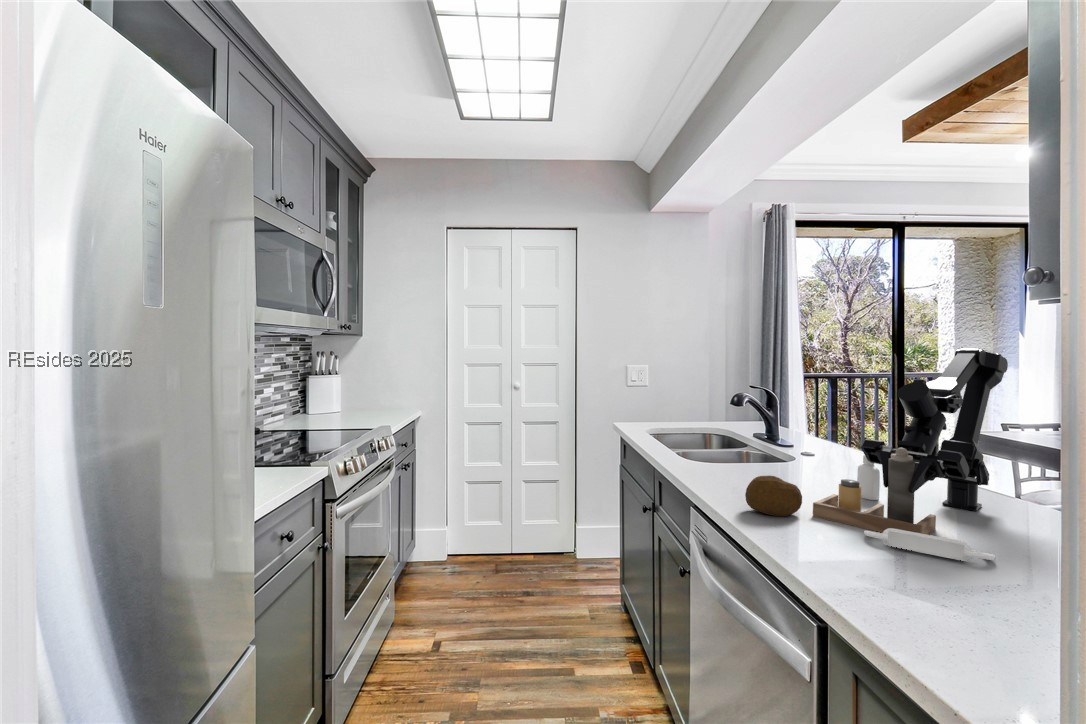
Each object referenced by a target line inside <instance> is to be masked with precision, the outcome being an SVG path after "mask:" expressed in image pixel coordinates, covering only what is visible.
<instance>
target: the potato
mask: <svg viewBox="0 0 1086 724" xmlns="http://www.w3.org/2000/svg"><path fill="white" fill-rule="evenodd" d="M744 496H745V502H746V504H747V505H748V506H749V508H751V509H752V510H754V511H757V512H759V513H763V514H765V515H770V516H776V517H786V516H787V517H789V516H792V515H793V514H795V513H796V512H798V511H799V509H801V507H802V504H803V494H802V492H801V490H800V488H799V487H798V486H797V484H794V483H790V482H788V481H786V480H783V479H782V478H780V477H778V476H775V475H759V476H756V477H754V478H753V479H752V480H751V481H750V482H749V483H748V485H747V487H746V489H745V495H744Z"/></svg>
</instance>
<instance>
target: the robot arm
mask: <svg viewBox="0 0 1086 724" xmlns="http://www.w3.org/2000/svg"><path fill="white" fill-rule="evenodd" d="M1008 362H1009V361H1008V359H1007V358H1006V357H1004V356H1003V355H1002V354H1001V353H994V352H988V351H985V349H980V348H960V349H957V350H955V352H954V356H953V358H952V360H951V361H950V362H949V364H947V366H946V368H944V370H943V371H942V373H941V374H940V376H939V377H938V378H936V379H934V380H930V381H926V380H925V379H920V378H917V379H915V378H914V380H913V381H912V382H909V383H906V384H904V385H903V386H901V387H900V388H899V389H898V390H897V392H896V393H897V397H898V398H899V401H900V402H901V405H902V407H903V409H904V411H905V412H906V415H907V416H909V417H911V418H912V419H911V421H910V423H909V425H905V426H904V428H903V431H904V436H903V438H902V440H900V439H899V440H898V441H897V443H896V444H897V446H898V448H905V449H906V450H907V451H908V455H910V456H913V461H915V474H914V477H913V479H912V482H911V485H910V492H911V493H914V494H915V493H916V492H917V491H918V490H919V489H920V488H921V487H922V486H923V485H925V484H926V483H927V482H929V481H932V482H933V481H934V480H935V479H937V478H938V479H939V478H940V479H944V480H945V479H946V480H947V487H946V488H947V490H946V493H947V495H946V496H947V497H946V499H945V500H944V501H943V502H942V503H941V504H942V505H943V506H947V507H953V508H958V509H964V510H968V511H973V512H977V511H978V510H979V509H980V508H981V507H983V505H982V503H979V502H978V496H979V494H978V493H979V491H978V490H979V486H989V480H990V473H989V471H988V468H987V466H986V464H985V462H984V455H983V453H982V450H981V448H980V446H979V445H978V443H979V439H980V436H981V431H982V426H983V424H984V423H983V422H984V419H985V415H986V409H987V406H988V401H989V397H990V394H991V393H990V392H991V390H992V389H994V388H995V387H996V386H997V385H998V384H1000V383H1001V382H1002V380H1003V378H1004V374H1005V373H1006V372H1007V371H1008V366H1009V365H1008V364H1009V363H1008ZM964 387H965V389H964V393H963V395H962V393H961V391H962V390H963V388H964ZM962 396H963V397H962ZM958 410H959V413H958V417H957V420H956V425H955V429H954V432H953V436H952V437H950V439H944V440H943V441H942V442H941V444H940V449H939V444H938V441H939V438H940V435H941V434H942V431H947V427H948V426H947V423H946V422H947V418H946V416H945V415H944V413H945V414H955V413H956V412H958ZM898 448H893V447H892V446H890V445H886V443H885V441H884V440H877V439H871V438H870V439H869V438H866V439H864V440H863V441H862V443H861V445H860V449H861V451H862V452H863V454H864V455H865V456H866V458H867V460H868V461H870V462H871V463H874V464H876V465H881V468H882V481H883V482H882V484H883V487H884V488H887V489H888V460H889V458H891V454H896V450H897V449H898Z"/></svg>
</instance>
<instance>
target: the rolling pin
mask: <svg viewBox="0 0 1086 724" xmlns="http://www.w3.org/2000/svg"><path fill="white" fill-rule="evenodd" d="M863 535H864V536H867V537H870V538H874V539H875V538H876V539H880V540H881V541H882V543H883V544H884V545H885V546H886V545H888V546H887V547H891V546H892V548H896V547H897V549H901V548H902V549H903V550H906V549H907V550H906V551H911V550H912V551H911V552H915V553H916V552H917V553H921V554H926V555H930V556H931V555H932V556H936V557H942V558H946V559H951V560H956V561H960V560H961V562H962V561H963V562H965V561H966V562H968V563H969V562H970V561H971V560H972V558H977V559H982V560H987V561H989V560H990V561H994V560H996V555H995V554H992V553H987V552H983V551H978V550H974V549H972V548H971V546H970V545H969V544H968V543H967V542H965V541H962V540H958V539H952V538H948V537H942V536H936V535H932V534H929V535H927V534H921V533H916V532H910V531H905V530H899V529H894V528H888V529H886V530H884V532H883V533H880V532H876V531H872V530H864V531H863Z"/></svg>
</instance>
